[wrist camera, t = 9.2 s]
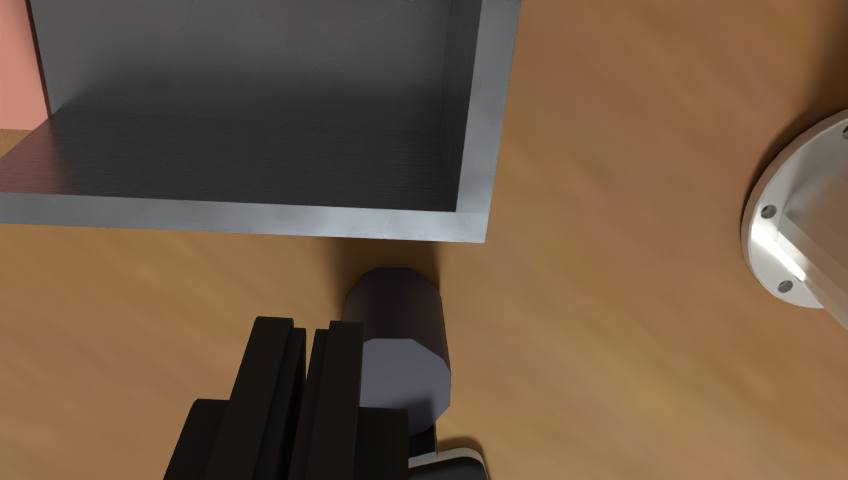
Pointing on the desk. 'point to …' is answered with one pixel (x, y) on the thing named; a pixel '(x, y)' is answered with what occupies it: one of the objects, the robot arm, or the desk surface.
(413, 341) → the speaker
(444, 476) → the remote control
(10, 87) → the tailgate
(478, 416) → the desk surface
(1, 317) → the desk surface
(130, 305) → the desk surface
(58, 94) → the box
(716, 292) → the desk surface
